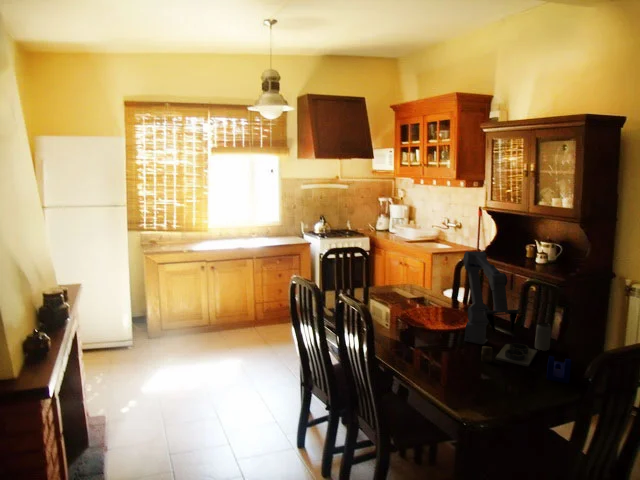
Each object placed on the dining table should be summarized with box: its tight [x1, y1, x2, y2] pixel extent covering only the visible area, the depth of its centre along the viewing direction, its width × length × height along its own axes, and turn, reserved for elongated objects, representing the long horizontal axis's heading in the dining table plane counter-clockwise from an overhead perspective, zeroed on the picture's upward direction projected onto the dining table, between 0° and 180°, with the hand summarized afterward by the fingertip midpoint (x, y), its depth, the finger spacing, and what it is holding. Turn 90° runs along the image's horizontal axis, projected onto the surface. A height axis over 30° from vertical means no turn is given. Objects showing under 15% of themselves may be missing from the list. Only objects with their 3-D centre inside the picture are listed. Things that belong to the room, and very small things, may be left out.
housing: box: [495, 342, 538, 367], centre depth 241 cm, size 14×20×3 cm
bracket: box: [546, 355, 572, 384], centre depth 223 cm, size 18×8×9 cm, turn 156°
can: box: [534, 321, 552, 352], centre depth 250 cm, size 6×6×12 cm
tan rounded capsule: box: [480, 345, 493, 364], centre depth 234 cm, size 4×4×6 cm
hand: (503, 331), depth 233 cm, fingers open, 7 cm apart
